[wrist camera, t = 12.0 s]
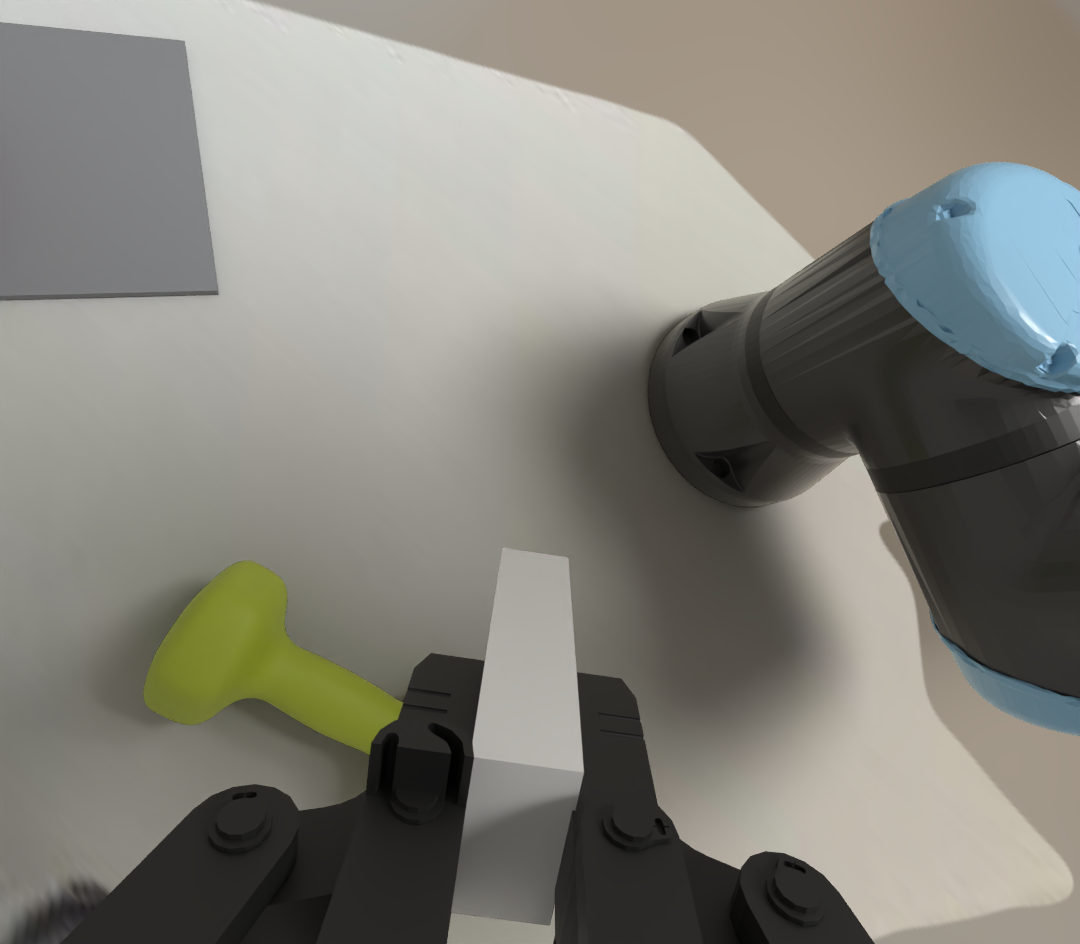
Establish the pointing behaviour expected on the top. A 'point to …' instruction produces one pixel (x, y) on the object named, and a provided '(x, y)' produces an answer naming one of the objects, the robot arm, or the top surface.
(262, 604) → the dumbbell
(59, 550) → the top surface
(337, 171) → the top surface
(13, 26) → the mat
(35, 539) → the top surface
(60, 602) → the top surface
